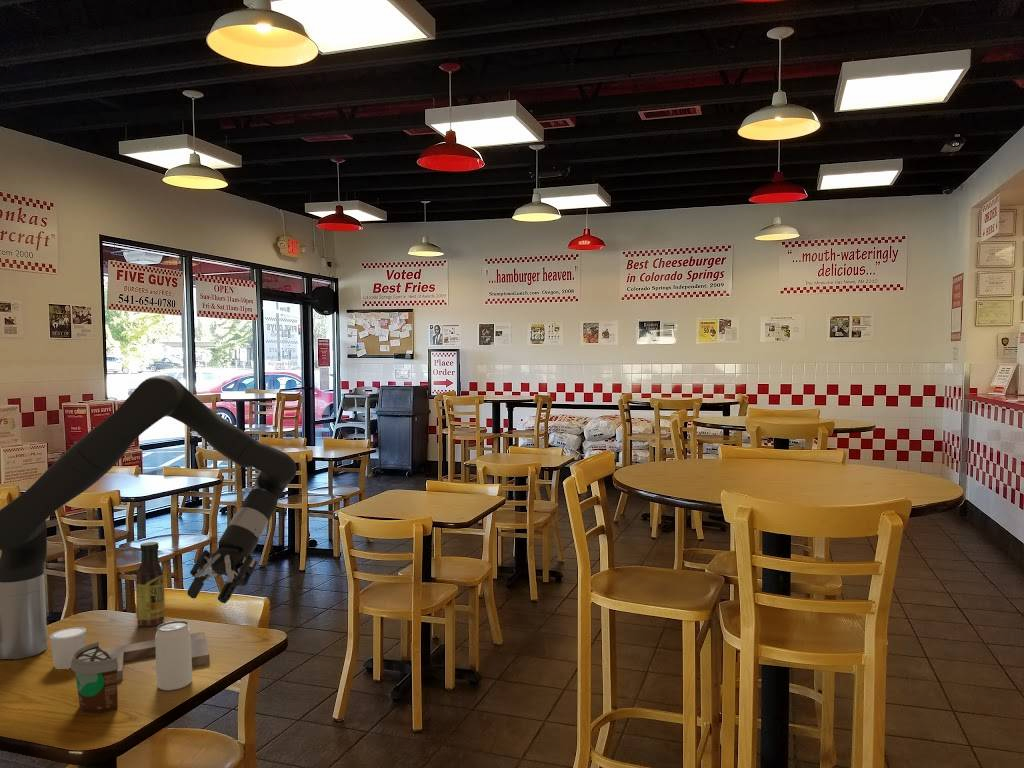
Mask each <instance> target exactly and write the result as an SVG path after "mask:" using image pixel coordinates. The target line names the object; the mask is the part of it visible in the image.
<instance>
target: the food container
mask: <svg viewBox="0 0 1024 768" xmlns="http://www.w3.org/2000/svg"><path fill="white" fill-rule="evenodd" d="M101 649H102V648H101V647H100V644H99V641H95V642H93V643H90V644H88V645H85V647H83V648H81V649H79V650H78V651H76V652H75V654H74V657H73V658H72V662H71V669H70V670H72V671H73V672H74V674H75V680H76V689H77V696H78V702H79V710H80V711H81V712H84V713H87V714H100V713H101V714H102V713H106V712H112V711H114V710H118V707H119V706H118V700H119V699H118V697H119V696H118V681H117V669H118V661H117V658H113V659H112V658H111V657H110V656H109V655H108V653H107V652H105V651H103V650H101Z"/></svg>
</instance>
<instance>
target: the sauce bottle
mask: <svg viewBox="0 0 1024 768" xmlns="http://www.w3.org/2000/svg"><path fill="white" fill-rule="evenodd" d="M139 546H140V547H139V549H140V551H141V552H140V554H141V556H140V557H141V559H140V562H141V563H140V565H139V566H138V568H137V570H136V583H135V587H136V589H135V590H136V598H135V599H136V620H137V625H138V626H139V627H143V628H145V627H147V628H149V627H153V626H157V625H158V626H159V625H161V624H163V623H164V621H165V615H166V611H165V610H166V608H165V607H166V605H165V603H166V602H165V573H164V572H163V569H162V566H161V563H160V561H159V547H160V546H159V542H158V541H149V542H148V541H147V542H143V543H141V544H140V545H139Z"/></svg>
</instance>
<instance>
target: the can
mask: <svg viewBox="0 0 1024 768" xmlns="http://www.w3.org/2000/svg"><path fill="white" fill-rule="evenodd" d="M191 634H192V633H191V629H190V627H189V623H188V621H186V620H171V621H167V622H162V623H161V624H158V626H157V631H156V633H155V639H154V640H155V649H156V656H155V668H156V669H155V670H156V673H155V674H156V687H157V688H158V689H159V690H160V691H164V692H172V691H178V690H182V689H185V688H186V687H188V686H189V685H190V684H191V682H193V667H192V655H191Z"/></svg>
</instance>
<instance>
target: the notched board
mask: <svg viewBox="0 0 1024 768" xmlns="http://www.w3.org/2000/svg"><path fill="white" fill-rule="evenodd" d="M207 642H208V641H207V637H206V633H205V631H199V632H193V633H191V655H192V668H194V667H199V666H200V667H201V666H206V665H210V662H211V661H210V651H209V645H208V643H207ZM100 649H101V650H103V651H105V652H107V653H108V655H109V656H110V657H111V658H112V659H113V658H117V661H118V669H117V682H120V681H123V678H124V665H125V662H128V661H133V660H139V658H140V659H145V657H146V658H151V657H156V649H155V639H152V640H146V641H141V642H135V643H129V644H128V643H127V644H124V645H116V646H111V647H105V648H100ZM150 656H151V657H150Z"/></svg>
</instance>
